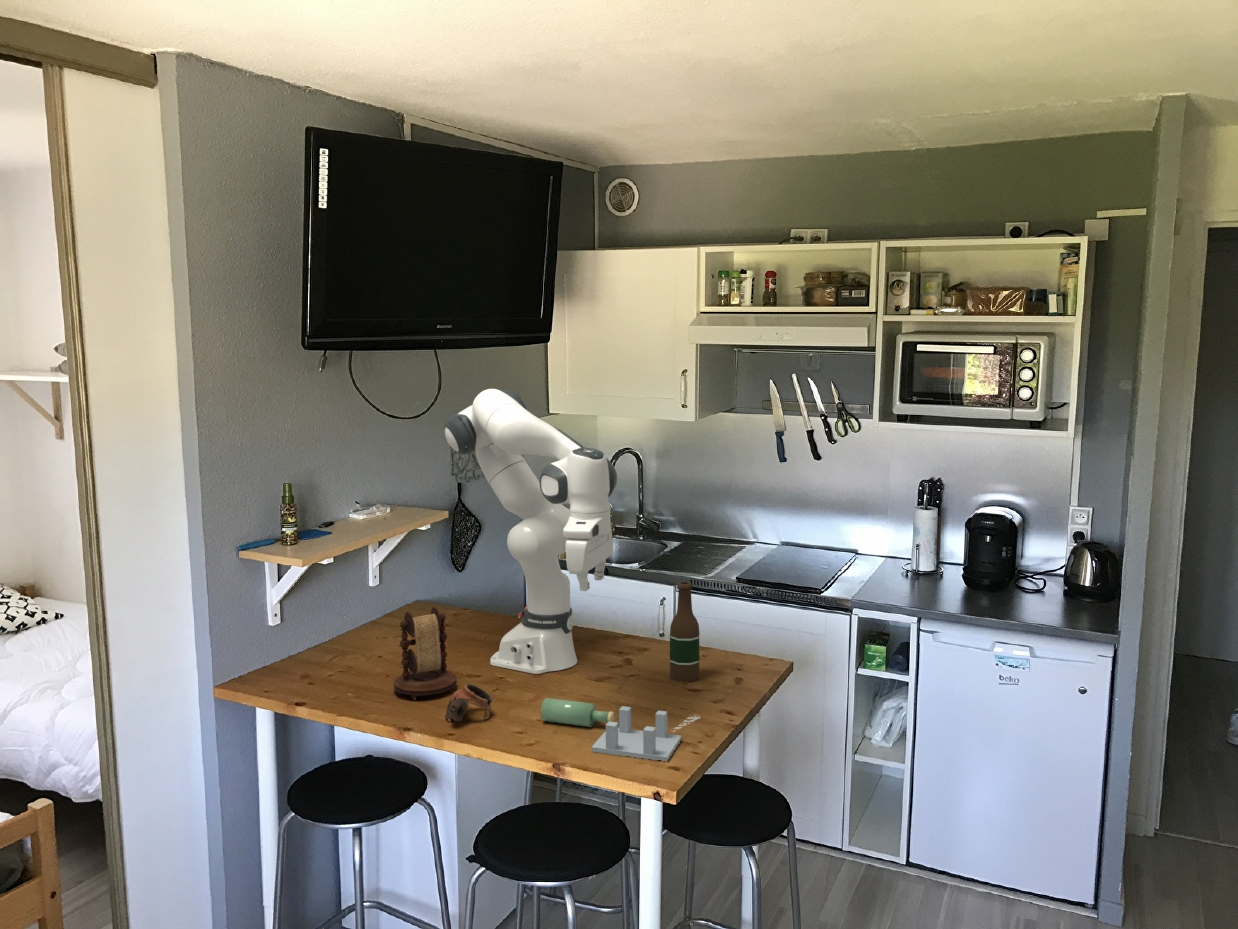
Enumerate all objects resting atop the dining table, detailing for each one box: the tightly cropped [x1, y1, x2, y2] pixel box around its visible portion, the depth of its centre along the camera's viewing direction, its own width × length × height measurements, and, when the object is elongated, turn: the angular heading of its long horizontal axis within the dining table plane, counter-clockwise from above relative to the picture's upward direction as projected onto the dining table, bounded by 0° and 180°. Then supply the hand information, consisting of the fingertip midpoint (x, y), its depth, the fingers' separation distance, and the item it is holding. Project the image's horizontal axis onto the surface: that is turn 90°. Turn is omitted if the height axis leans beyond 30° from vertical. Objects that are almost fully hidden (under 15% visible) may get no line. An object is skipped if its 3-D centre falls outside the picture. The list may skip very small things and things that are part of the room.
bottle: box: [540, 697, 616, 728], centre depth 216 cm, size 16×5×5 cm, turn 71°
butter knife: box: [673, 714, 702, 733], centre depth 211 cm, size 1×24×3 cm
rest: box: [591, 705, 682, 762], centre depth 205 cm, size 16×11×6 cm
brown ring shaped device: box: [445, 683, 493, 722], centre depth 219 cm, size 12×10×8 cm
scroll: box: [393, 606, 457, 700], centre depth 236 cm, size 15×15×20 cm
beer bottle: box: [669, 580, 700, 683], centre depth 243 cm, size 8×8×24 cm
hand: (592, 585), depth 217 cm, fingers open, 8 cm apart
